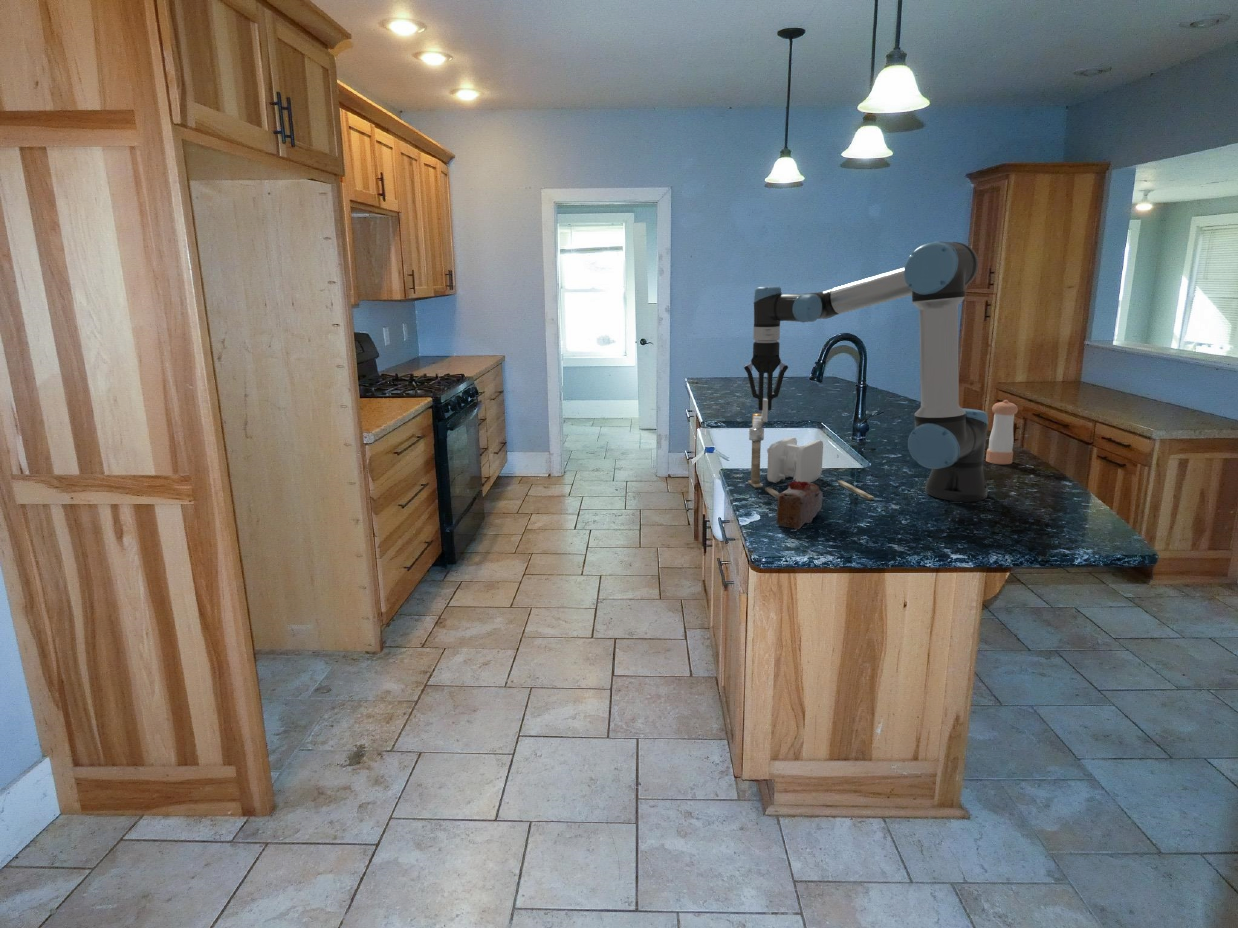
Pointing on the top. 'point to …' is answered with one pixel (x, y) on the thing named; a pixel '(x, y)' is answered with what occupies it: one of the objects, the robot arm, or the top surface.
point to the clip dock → (756, 483)
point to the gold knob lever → (756, 428)
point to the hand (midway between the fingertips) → (764, 420)
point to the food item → (798, 504)
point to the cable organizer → (794, 460)
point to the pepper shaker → (1002, 433)
